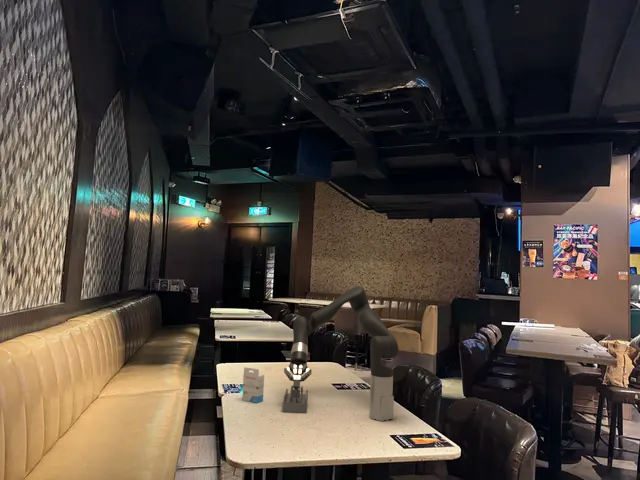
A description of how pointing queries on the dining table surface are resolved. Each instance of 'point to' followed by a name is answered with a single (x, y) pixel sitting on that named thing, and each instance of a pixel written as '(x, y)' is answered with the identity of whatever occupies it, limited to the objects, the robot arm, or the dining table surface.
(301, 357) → the robot arm
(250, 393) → the ink box
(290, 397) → the heat sink
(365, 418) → the dining table surface
